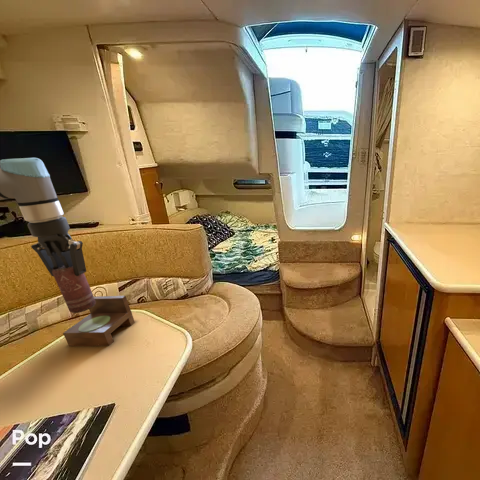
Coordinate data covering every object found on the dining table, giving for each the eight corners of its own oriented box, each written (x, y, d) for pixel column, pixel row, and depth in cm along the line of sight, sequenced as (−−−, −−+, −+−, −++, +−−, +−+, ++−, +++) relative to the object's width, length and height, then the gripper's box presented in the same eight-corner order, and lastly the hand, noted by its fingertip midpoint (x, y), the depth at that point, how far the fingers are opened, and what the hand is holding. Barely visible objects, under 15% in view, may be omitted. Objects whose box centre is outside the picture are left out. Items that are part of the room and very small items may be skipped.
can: (101, 304, 81) (84, 262, 76) (75, 315, 76) (55, 271, 71) (92, 299, 84) (75, 259, 79) (66, 310, 79) (47, 267, 74)
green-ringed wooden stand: (69, 348, 88) (55, 317, 84) (100, 324, 99) (88, 296, 95) (109, 347, 87) (97, 316, 83) (135, 324, 98) (125, 295, 94)
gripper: (83, 214, 73) (111, 289, 81) (37, 216, 75) (68, 289, 83) (56, 222, 66) (89, 303, 74) (5, 223, 68) (43, 303, 76)
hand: (78, 296), depth 79 cm, fingers closed on can
